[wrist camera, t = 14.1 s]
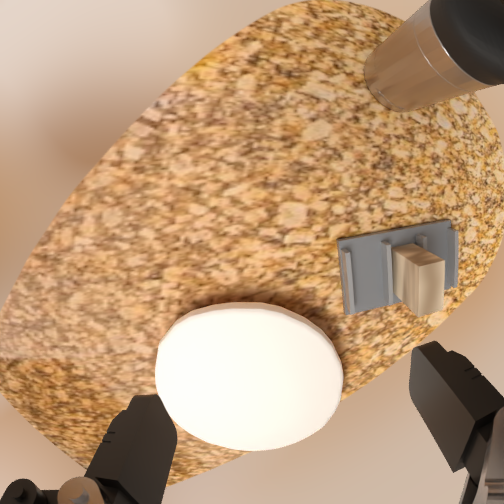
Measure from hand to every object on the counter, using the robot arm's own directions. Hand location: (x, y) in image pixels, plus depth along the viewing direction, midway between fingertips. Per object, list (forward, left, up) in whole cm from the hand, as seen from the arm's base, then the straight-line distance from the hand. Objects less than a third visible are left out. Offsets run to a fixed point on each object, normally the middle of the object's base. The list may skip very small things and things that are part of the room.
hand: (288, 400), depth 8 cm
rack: (-5, +18, -29) cm, 35 cm away
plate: (+20, +9, -30) cm, 37 cm away
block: (-5, +18, -28) cm, 34 cm away
